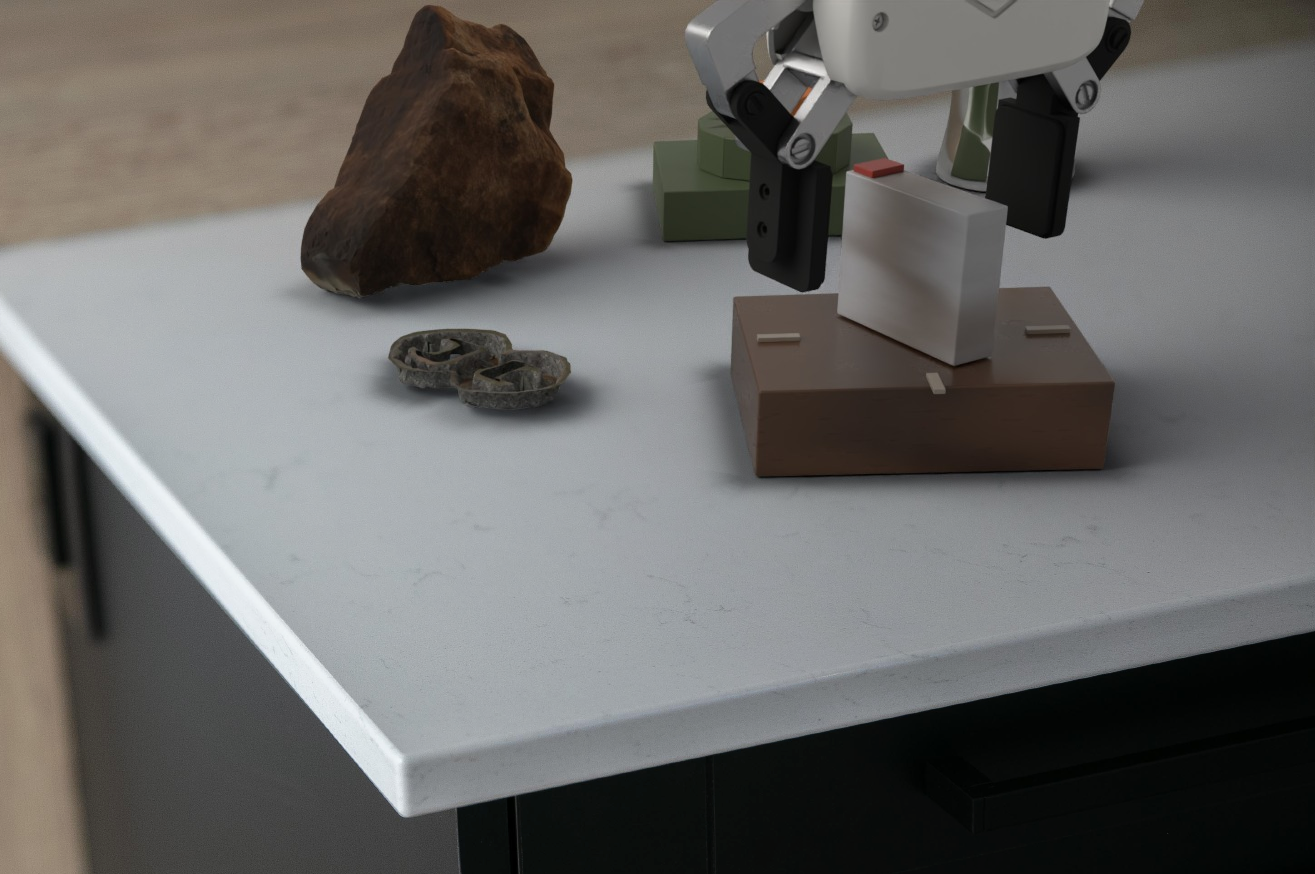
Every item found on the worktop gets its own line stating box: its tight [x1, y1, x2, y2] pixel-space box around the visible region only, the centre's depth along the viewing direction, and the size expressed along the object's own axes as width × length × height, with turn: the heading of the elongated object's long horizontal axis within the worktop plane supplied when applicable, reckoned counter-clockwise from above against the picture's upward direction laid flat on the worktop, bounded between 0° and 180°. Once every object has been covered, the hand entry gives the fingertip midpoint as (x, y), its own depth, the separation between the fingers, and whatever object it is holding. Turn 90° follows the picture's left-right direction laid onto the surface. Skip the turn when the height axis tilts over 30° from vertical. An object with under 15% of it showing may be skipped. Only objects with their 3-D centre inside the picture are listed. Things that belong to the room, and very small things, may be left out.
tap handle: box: [837, 158, 1008, 366], centre depth 65 cm, size 6×2×5 cm, turn 25°
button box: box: [652, 110, 889, 242], centre depth 88 cm, size 10×8×4 cm
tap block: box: [730, 286, 1116, 478], centre depth 67 cm, size 11×10×3 cm
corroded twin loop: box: [387, 328, 572, 411], centre depth 73 cm, size 5×8×1 cm, turn 38°
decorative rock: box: [299, 4, 573, 299], centre depth 81 cm, size 12×6×11 cm, turn 120°
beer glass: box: [935, 80, 1076, 193], centre depth 87 cm, size 7×7×15 cm
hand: (906, 252), depth 65 cm, fingers open, 9 cm apart
